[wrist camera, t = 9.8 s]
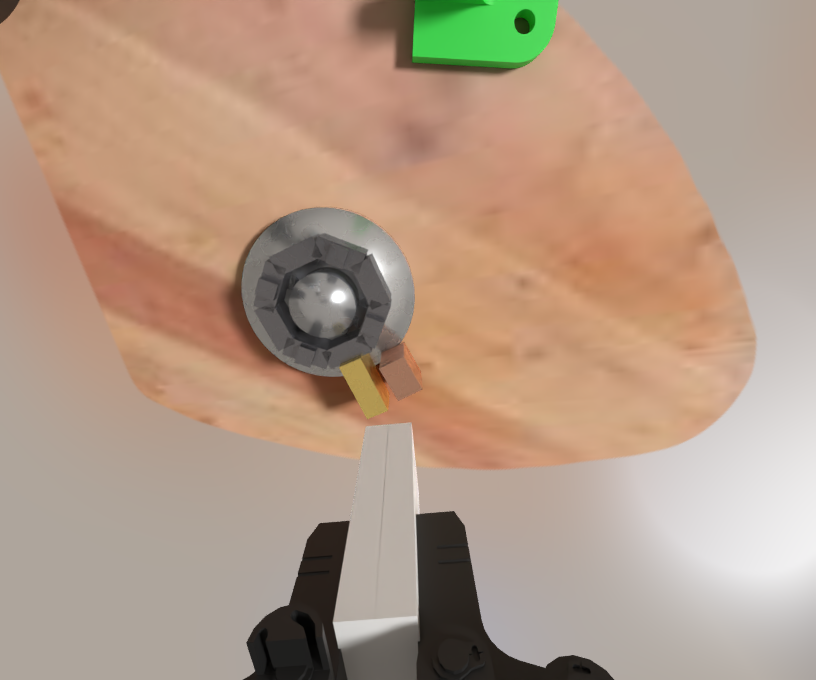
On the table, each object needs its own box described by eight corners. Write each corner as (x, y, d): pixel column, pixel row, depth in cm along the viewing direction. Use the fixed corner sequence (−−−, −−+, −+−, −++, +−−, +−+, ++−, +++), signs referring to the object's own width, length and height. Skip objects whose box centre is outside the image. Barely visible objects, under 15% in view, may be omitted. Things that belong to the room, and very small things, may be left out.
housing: (212, 259, 43) (183, 268, 38) (361, 173, 41) (354, 169, 35) (318, 416, 49) (307, 443, 44) (454, 350, 47) (460, 371, 41)
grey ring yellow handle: (244, 268, 42) (228, 276, 38) (354, 216, 40) (349, 218, 36) (331, 417, 47) (324, 437, 43) (430, 376, 46) (432, 393, 42)
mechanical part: (412, 63, 38) (413, 30, 30) (415, -18, 36) (418, -75, 28) (542, 71, 38) (576, 40, 30) (553, -9, 36) (592, -63, 28)
